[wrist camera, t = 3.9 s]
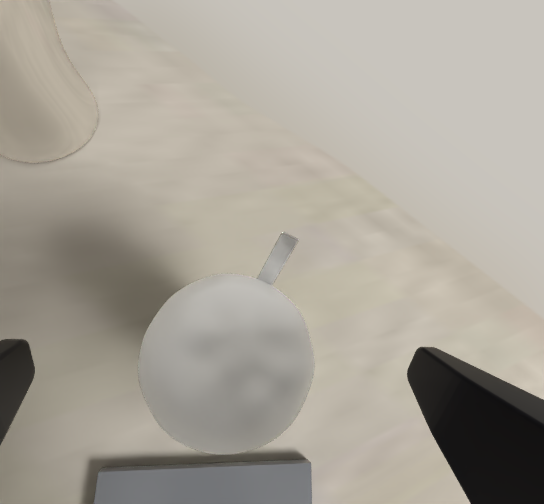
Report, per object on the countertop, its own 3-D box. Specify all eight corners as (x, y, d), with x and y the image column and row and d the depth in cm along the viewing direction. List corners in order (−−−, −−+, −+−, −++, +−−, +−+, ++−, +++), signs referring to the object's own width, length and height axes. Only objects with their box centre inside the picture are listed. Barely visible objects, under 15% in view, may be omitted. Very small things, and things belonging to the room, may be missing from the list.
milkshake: (285, 319, 18) (375, 276, 8) (241, 424, 16) (292, 522, 6) (206, 281, 17) (206, 193, 8) (152, 383, 16) (72, 423, 6)
